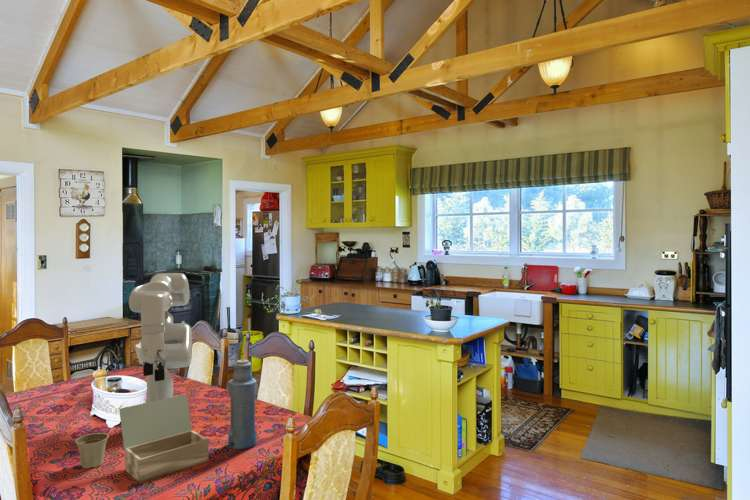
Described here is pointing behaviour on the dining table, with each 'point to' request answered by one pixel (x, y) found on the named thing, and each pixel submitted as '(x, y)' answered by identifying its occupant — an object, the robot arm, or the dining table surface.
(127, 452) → the box
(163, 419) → the lid
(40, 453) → the dining table surface
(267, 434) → the dining table surface
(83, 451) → the flower pot
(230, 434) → the bottle
